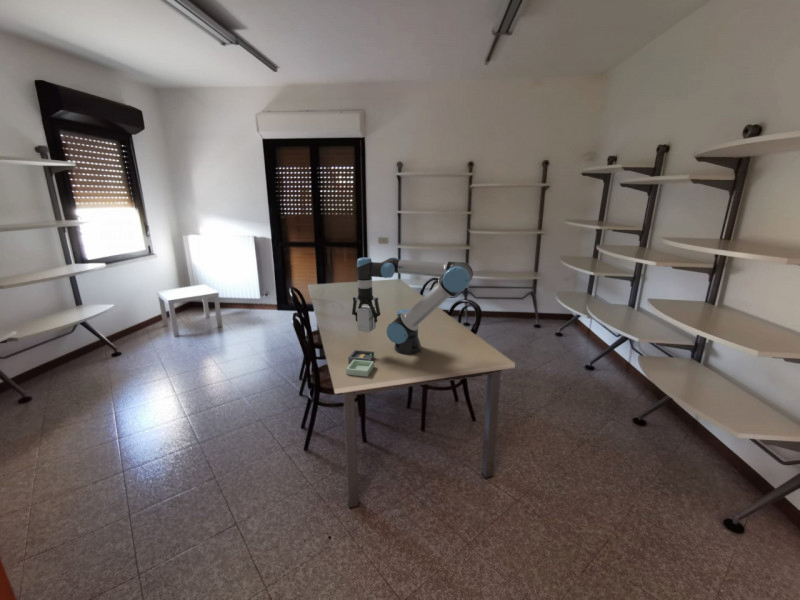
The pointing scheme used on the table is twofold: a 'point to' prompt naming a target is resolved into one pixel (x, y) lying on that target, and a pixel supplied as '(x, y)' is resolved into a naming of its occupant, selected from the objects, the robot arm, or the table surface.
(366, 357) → the dark gray open-sided tray
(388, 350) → the table surface
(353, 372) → the trough tray
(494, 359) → the table surface
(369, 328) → the supplement box
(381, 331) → the table surface
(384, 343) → the table surface
